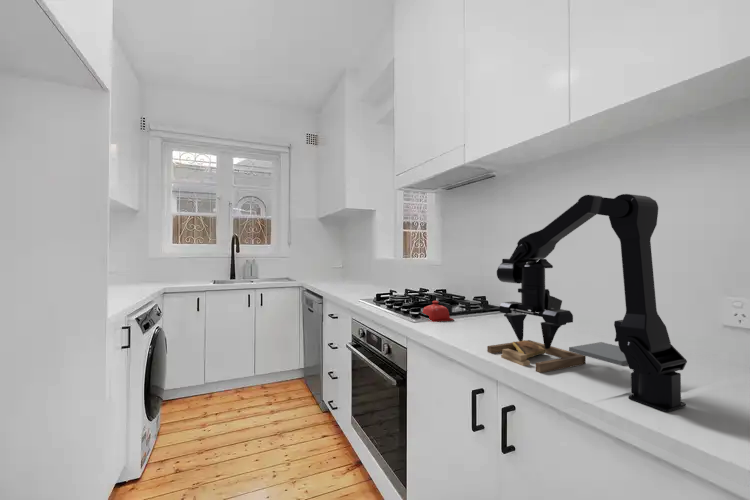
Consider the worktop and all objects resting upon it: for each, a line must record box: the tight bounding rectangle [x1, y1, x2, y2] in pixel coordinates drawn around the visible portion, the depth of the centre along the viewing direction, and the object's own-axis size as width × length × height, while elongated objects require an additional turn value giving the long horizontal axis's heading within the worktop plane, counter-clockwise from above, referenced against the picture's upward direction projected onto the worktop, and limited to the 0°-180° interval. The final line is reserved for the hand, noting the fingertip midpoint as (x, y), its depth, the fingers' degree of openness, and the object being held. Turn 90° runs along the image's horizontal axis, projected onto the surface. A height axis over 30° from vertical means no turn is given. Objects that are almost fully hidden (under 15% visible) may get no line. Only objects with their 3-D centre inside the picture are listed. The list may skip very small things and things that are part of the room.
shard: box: [512, 339, 546, 359], centre depth 93 cm, size 11×8×2 cm
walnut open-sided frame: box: [486, 339, 587, 374], centre depth 91 cm, size 17×16×2 cm
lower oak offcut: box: [500, 354, 531, 367], centre depth 88 cm, size 7×2×2 cm, turn 25°
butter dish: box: [422, 300, 454, 323], centre depth 141 cm, size 12×12×8 cm
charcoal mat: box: [568, 341, 628, 366], centre depth 94 cm, size 14×14×1 cm
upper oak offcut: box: [501, 349, 528, 362], centre depth 88 cm, size 6×2×2 cm, turn 25°
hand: (533, 344), depth 91 cm, fingers open, 8 cm apart
